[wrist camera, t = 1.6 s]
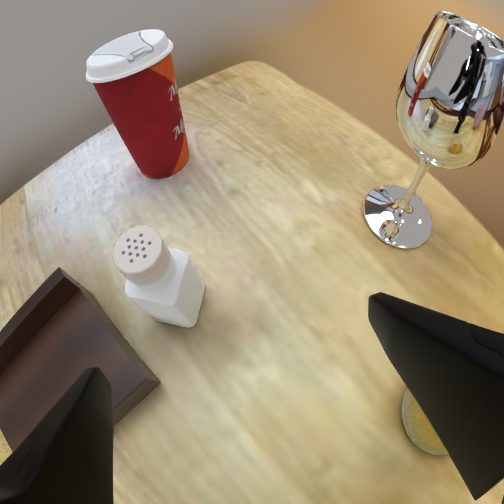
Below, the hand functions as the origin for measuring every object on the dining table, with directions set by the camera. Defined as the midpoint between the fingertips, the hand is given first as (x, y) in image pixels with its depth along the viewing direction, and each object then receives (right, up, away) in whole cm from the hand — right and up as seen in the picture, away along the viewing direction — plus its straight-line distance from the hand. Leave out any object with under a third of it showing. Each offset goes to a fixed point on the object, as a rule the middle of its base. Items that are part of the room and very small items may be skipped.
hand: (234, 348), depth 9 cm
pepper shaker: (-5, -1, +16) cm, 17 cm away
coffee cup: (-10, +13, +25) cm, 30 cm away
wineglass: (+15, +6, +19) cm, 25 cm away
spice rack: (-16, -9, +13) cm, 22 cm away
